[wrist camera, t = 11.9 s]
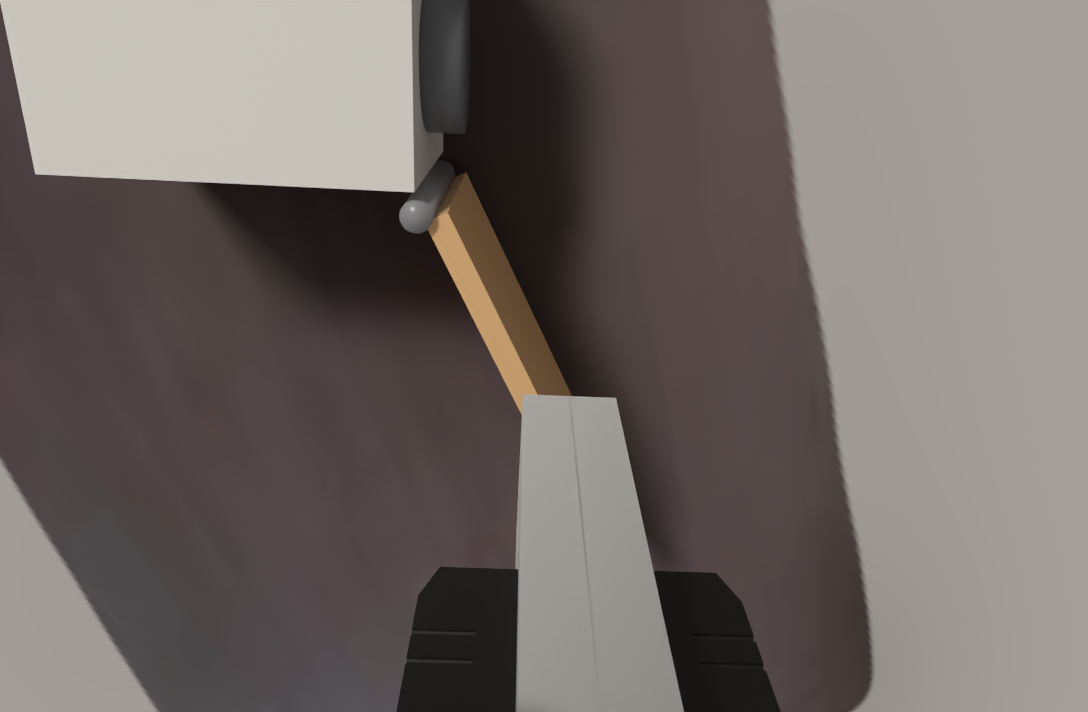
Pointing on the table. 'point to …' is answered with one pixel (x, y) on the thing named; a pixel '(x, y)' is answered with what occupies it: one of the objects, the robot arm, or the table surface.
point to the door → (484, 280)
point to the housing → (242, 88)
